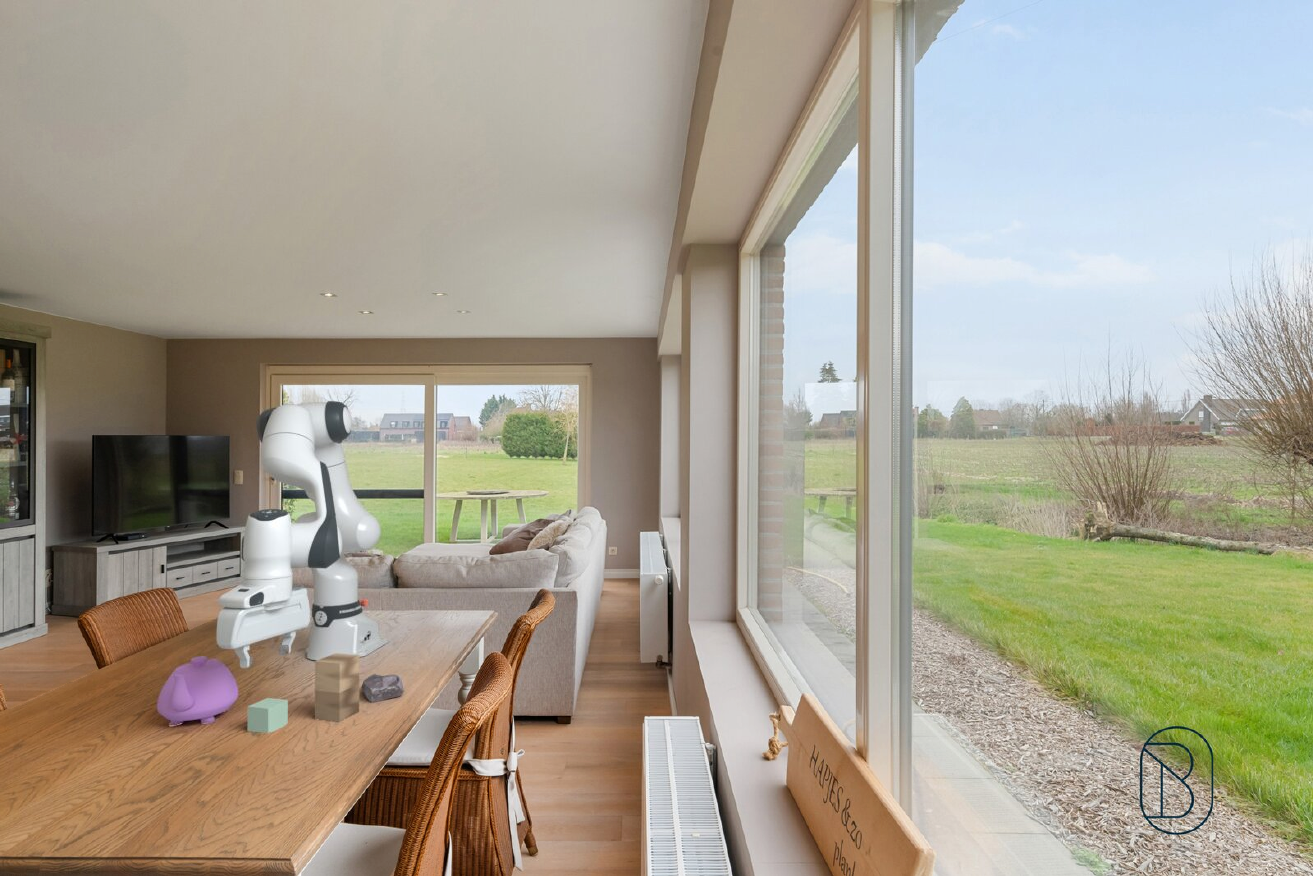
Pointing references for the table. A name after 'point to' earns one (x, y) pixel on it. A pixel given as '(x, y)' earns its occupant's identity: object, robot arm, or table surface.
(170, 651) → the table surface
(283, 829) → the table surface
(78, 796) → the table surface
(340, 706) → the tower bottom
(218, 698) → the teapot
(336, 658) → the tower top
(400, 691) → the rock
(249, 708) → the sage block
